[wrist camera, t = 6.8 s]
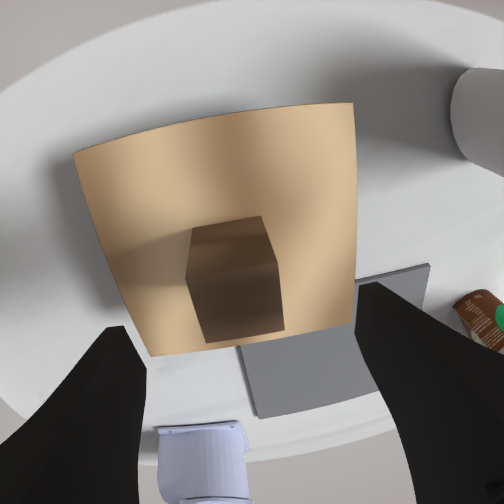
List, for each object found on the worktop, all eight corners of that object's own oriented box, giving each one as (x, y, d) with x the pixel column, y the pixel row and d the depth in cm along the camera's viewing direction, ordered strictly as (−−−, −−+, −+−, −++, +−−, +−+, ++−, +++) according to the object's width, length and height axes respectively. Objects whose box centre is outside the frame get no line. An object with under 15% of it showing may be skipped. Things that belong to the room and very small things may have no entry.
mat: (258, 416, 29) (258, 419, 29) (230, 303, 21) (231, 307, 21) (396, 381, 30) (397, 384, 29) (428, 263, 22) (430, 265, 21)
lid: (152, 347, 17) (142, 412, 13) (79, 150, 11) (22, 179, 7) (347, 314, 18) (377, 372, 13) (345, 102, 12) (404, 109, 8)
